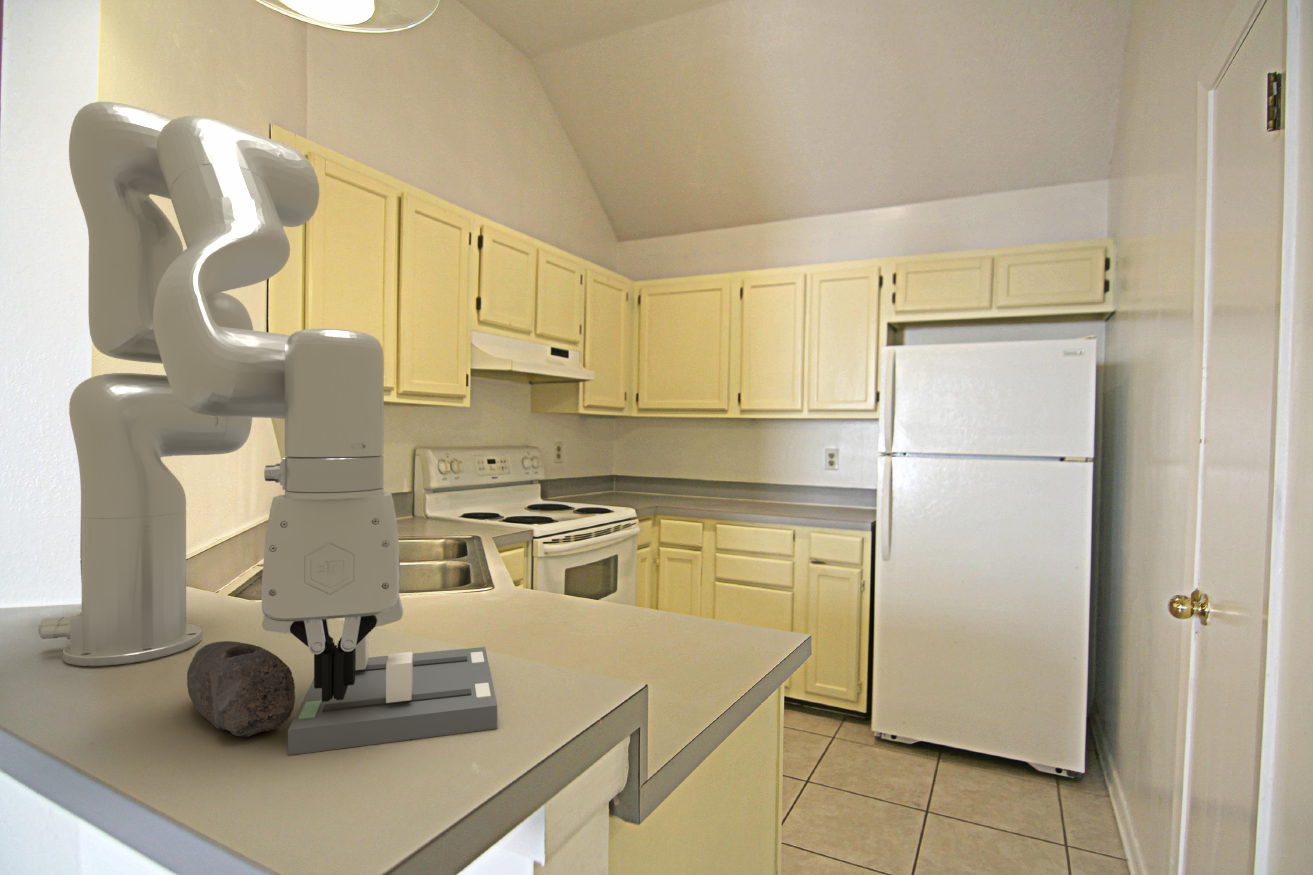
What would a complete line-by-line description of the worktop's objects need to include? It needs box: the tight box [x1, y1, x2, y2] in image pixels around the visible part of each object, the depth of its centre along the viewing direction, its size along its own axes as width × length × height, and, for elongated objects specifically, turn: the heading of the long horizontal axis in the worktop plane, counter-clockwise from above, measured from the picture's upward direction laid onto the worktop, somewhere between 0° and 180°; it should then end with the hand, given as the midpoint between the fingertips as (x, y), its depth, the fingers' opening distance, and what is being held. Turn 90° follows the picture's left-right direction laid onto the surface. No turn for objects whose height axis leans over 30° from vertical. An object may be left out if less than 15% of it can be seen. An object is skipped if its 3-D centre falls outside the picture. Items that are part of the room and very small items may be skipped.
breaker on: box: [356, 632, 370, 670], centre depth 65 cm, size 2×3×3 cm, turn 18°
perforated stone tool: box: [186, 640, 296, 737], centre depth 59 cm, size 15×5×7 cm, turn 51°
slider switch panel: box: [287, 646, 498, 756], centre depth 62 cm, size 16×16×2 cm
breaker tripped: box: [386, 651, 414, 703], centre depth 58 cm, size 2×3×3 cm, turn 18°
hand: (335, 694), depth 56 cm, fingers closed
